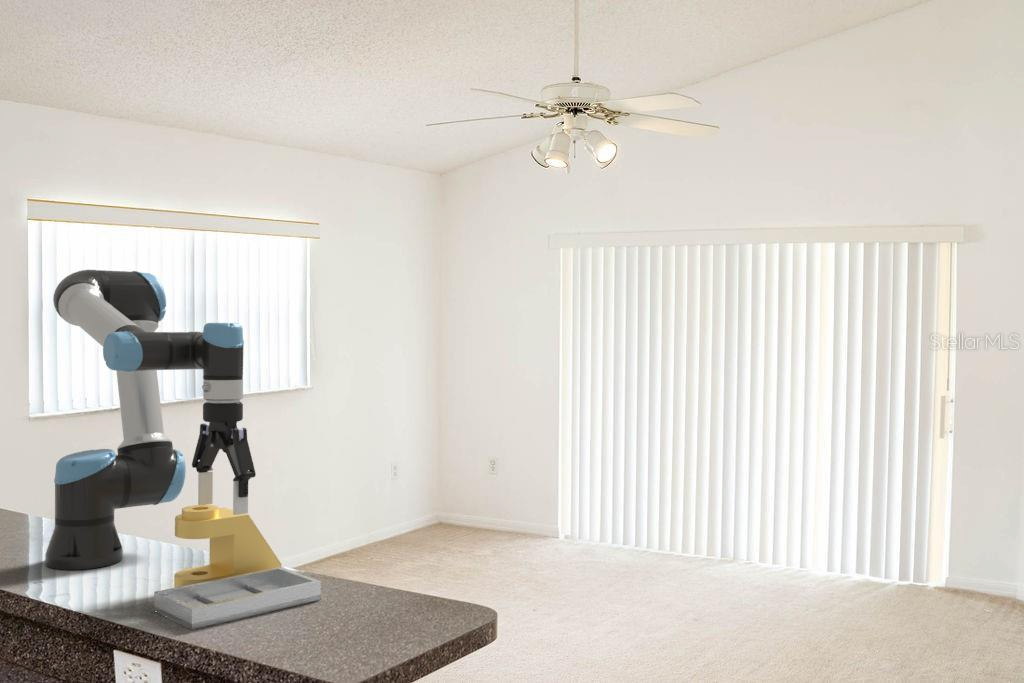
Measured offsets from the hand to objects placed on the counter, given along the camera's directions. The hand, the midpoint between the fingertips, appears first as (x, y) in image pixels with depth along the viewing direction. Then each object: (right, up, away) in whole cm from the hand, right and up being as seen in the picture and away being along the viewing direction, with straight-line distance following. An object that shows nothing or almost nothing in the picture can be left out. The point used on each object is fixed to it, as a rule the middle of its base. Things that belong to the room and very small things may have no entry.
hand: (222, 509), depth 188 cm
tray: (+7, -16, -12) cm, 21 cm away
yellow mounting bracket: (0, -15, +1) cm, 16 cm away
